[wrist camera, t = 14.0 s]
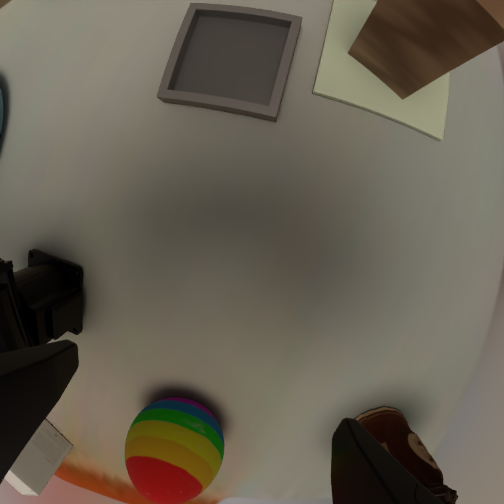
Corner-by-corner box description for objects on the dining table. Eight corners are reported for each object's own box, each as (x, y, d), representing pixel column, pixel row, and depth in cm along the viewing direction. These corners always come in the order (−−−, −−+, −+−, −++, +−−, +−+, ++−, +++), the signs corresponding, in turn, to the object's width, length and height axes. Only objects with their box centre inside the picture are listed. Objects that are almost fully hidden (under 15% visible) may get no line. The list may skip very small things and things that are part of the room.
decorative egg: (196, 373, 23) (160, 464, 13) (245, 434, 24) (233, 521, 15) (129, 397, 25) (83, 469, 15) (178, 450, 26) (152, 523, 16)
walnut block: (347, 53, 17) (409, -53, 5) (381, 18, 16) (446, -76, 4) (402, 99, 17) (510, 37, 5) (432, 61, 16) (528, -3, 4)
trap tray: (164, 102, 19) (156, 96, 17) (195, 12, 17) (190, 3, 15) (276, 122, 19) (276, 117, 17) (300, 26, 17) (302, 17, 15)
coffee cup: (417, 384, 22) (477, 488, 10) (415, 437, 24) (454, 527, 11) (326, 414, 23) (347, 538, 11) (338, 462, 25) (354, 563, 12)
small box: (44, 416, 27) (3, 463, 17) (74, 445, 28) (39, 496, 18) (27, 427, 29) (-8, 467, 18) (54, 453, 29) (23, 496, 19)
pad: (312, 93, 18) (313, 91, 17) (335, -9, 16) (336, -12, 15) (439, 141, 18) (442, 140, 17) (448, 38, 16) (450, 36, 15)
